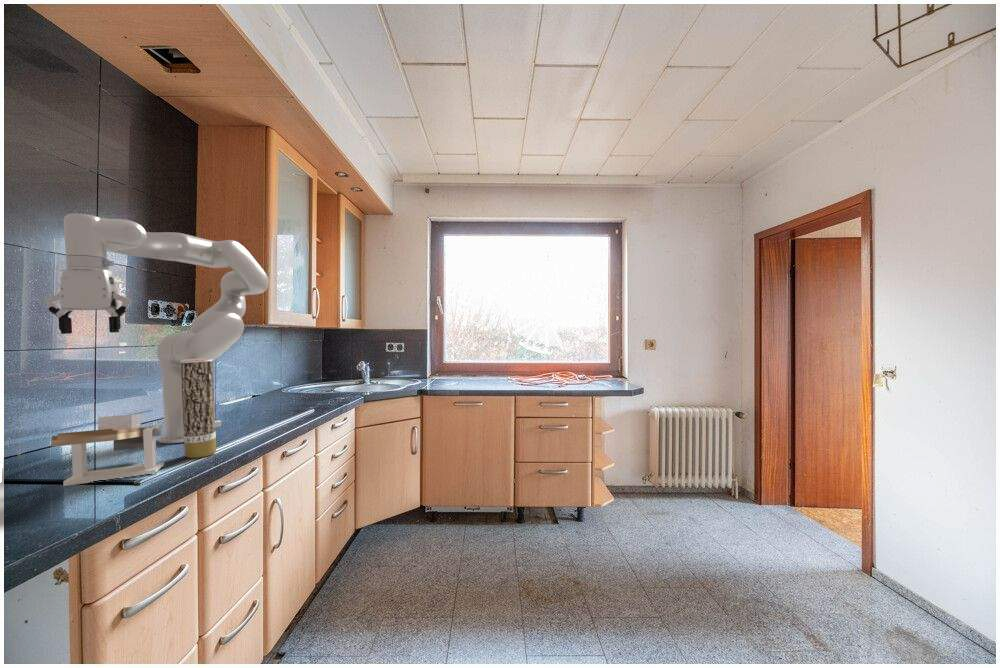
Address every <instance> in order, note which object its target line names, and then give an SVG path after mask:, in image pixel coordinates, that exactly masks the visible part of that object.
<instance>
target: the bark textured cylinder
mask: <svg viewBox="0 0 1000 668" xmlns="http://www.w3.org/2000/svg"><path fill="white" fill-rule="evenodd" d="M213 364H214V361H213V360H212V358H203V359H187V360H181V383H182V405H183V428H184V442H183V445H184V448H183V449H184V457H186V458H187V459H201V458H205V457H210V456H212V455H214V454H215V453H216V452H217V432H216V431H217V430H216V427H215V421H216V409H215V408H216V407H215V385H214V381H215V380H214V365H213Z"/></svg>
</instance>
